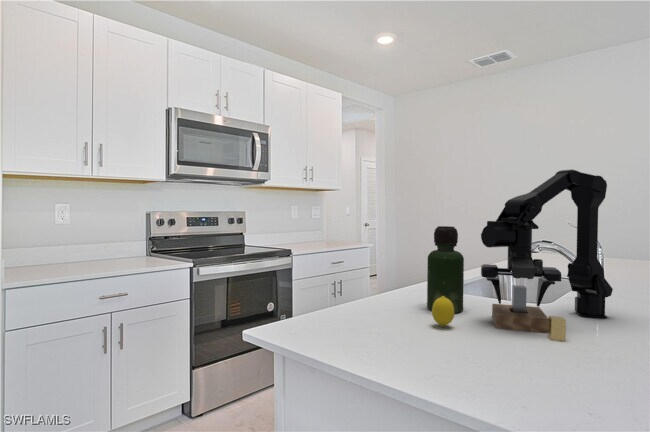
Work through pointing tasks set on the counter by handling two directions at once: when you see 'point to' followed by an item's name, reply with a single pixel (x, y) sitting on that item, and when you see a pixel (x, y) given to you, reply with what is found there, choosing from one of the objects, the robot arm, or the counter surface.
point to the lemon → (443, 311)
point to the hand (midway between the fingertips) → (518, 304)
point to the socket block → (520, 318)
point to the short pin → (557, 328)
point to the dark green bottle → (445, 269)
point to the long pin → (518, 299)
